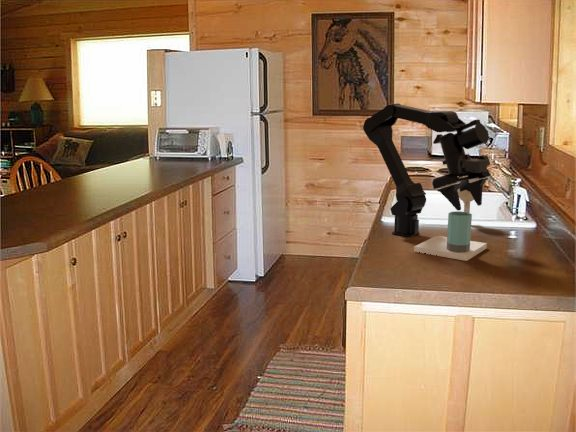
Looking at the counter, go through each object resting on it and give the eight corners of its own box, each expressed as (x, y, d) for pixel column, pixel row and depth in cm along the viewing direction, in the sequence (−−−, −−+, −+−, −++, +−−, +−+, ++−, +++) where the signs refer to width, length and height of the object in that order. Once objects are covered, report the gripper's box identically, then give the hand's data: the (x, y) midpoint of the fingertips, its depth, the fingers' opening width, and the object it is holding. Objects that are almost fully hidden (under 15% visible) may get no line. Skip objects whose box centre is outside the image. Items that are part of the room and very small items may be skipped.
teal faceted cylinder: (443, 250, 167) (445, 214, 165) (453, 245, 171) (455, 210, 169) (463, 253, 164) (465, 216, 161) (472, 249, 168) (474, 213, 166)
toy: (477, 227, 199) (479, 181, 196) (456, 226, 200) (458, 180, 197) (474, 221, 207) (477, 176, 204) (454, 220, 208) (456, 176, 205)
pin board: (414, 251, 171) (414, 234, 170) (436, 240, 183) (437, 224, 182) (466, 260, 162) (467, 242, 161) (486, 248, 174) (487, 231, 173)
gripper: (455, 148, 161) (472, 206, 160) (497, 142, 172) (513, 196, 171) (424, 160, 170) (439, 215, 169) (466, 154, 181) (481, 205, 180)
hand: (469, 207), depth 172 cm, fingers open, 9 cm apart
